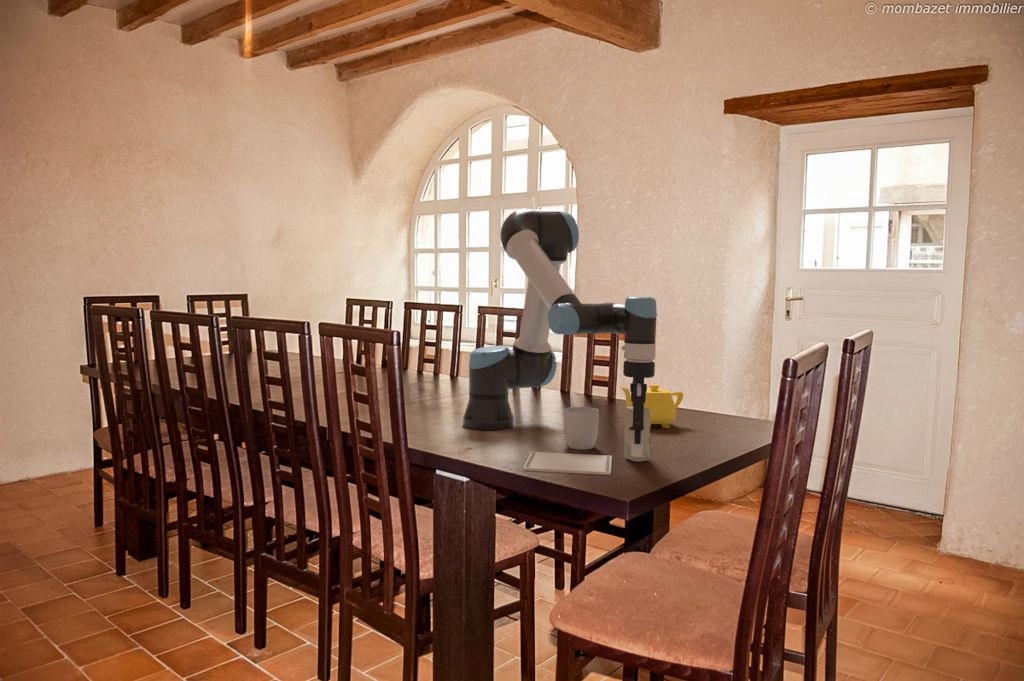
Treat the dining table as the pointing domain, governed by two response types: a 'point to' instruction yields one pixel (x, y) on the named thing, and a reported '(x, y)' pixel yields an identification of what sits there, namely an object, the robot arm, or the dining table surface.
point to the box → (629, 435)
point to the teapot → (658, 404)
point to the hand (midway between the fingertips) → (636, 452)
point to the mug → (581, 427)
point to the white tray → (569, 463)
